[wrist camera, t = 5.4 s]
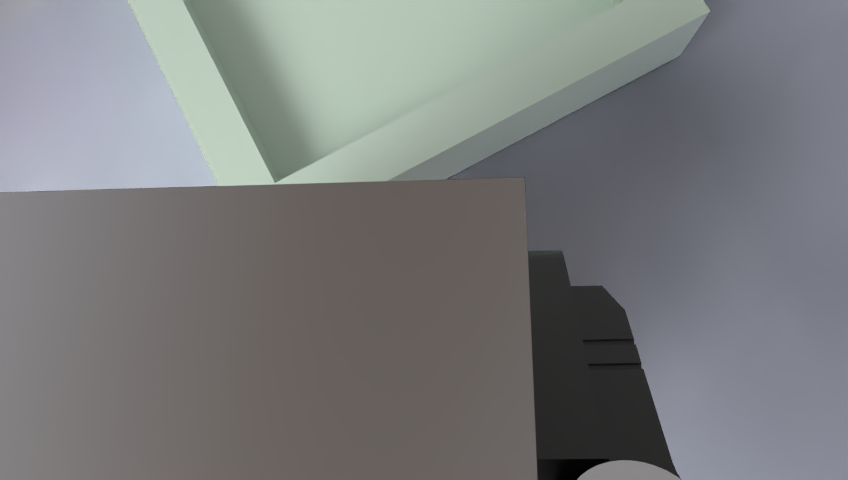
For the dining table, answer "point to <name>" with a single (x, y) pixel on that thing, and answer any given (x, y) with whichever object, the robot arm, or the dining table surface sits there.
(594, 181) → the dining table surface
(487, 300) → the brown wooden slotted block
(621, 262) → the dining table surface
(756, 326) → the dining table surface
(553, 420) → the robot arm
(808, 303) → the dining table surface
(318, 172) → the rest
